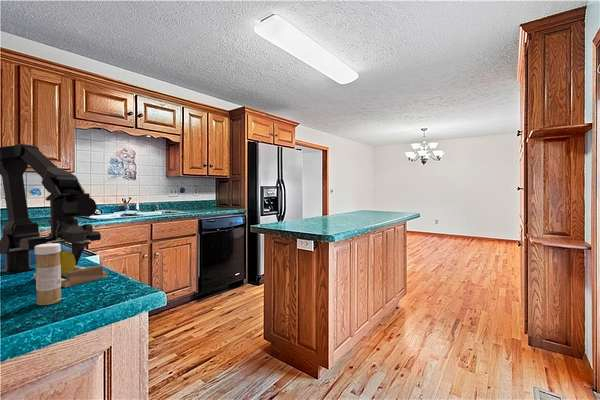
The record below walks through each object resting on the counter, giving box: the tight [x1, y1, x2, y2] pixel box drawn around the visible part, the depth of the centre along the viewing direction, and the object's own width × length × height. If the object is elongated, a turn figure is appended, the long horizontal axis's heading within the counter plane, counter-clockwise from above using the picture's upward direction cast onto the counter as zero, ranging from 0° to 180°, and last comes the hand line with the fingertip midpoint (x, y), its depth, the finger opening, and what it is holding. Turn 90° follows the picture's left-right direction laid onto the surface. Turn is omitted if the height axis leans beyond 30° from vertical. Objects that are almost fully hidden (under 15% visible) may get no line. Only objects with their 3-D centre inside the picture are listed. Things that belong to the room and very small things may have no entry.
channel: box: [33, 265, 108, 288], centre depth 89 cm, size 17×11×4 cm, turn 63°
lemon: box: [60, 249, 76, 277], centre depth 90 cm, size 6×6×8 cm
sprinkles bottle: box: [34, 243, 62, 306], centre depth 69 cm, size 5×5×13 cm
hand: (64, 267), depth 90 cm, fingers closed on lemon, 6 cm apart
